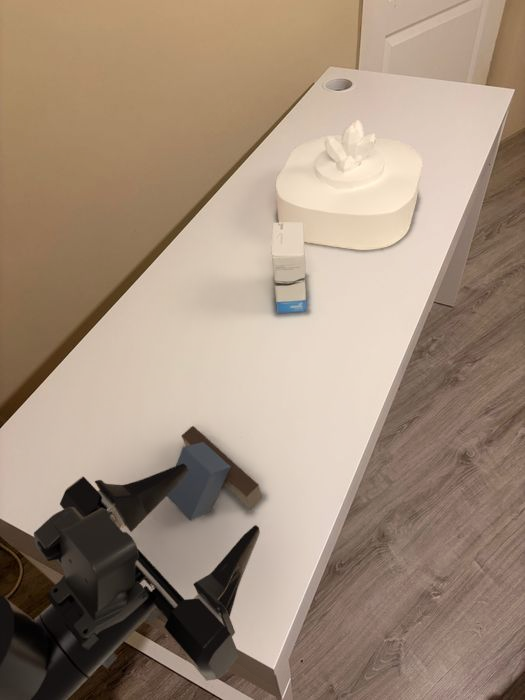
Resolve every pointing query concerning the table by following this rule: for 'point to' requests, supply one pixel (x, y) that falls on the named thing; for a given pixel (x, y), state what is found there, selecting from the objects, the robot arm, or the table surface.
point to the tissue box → (350, 189)
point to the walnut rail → (236, 476)
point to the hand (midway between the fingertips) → (220, 495)
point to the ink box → (289, 266)
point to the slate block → (199, 480)
